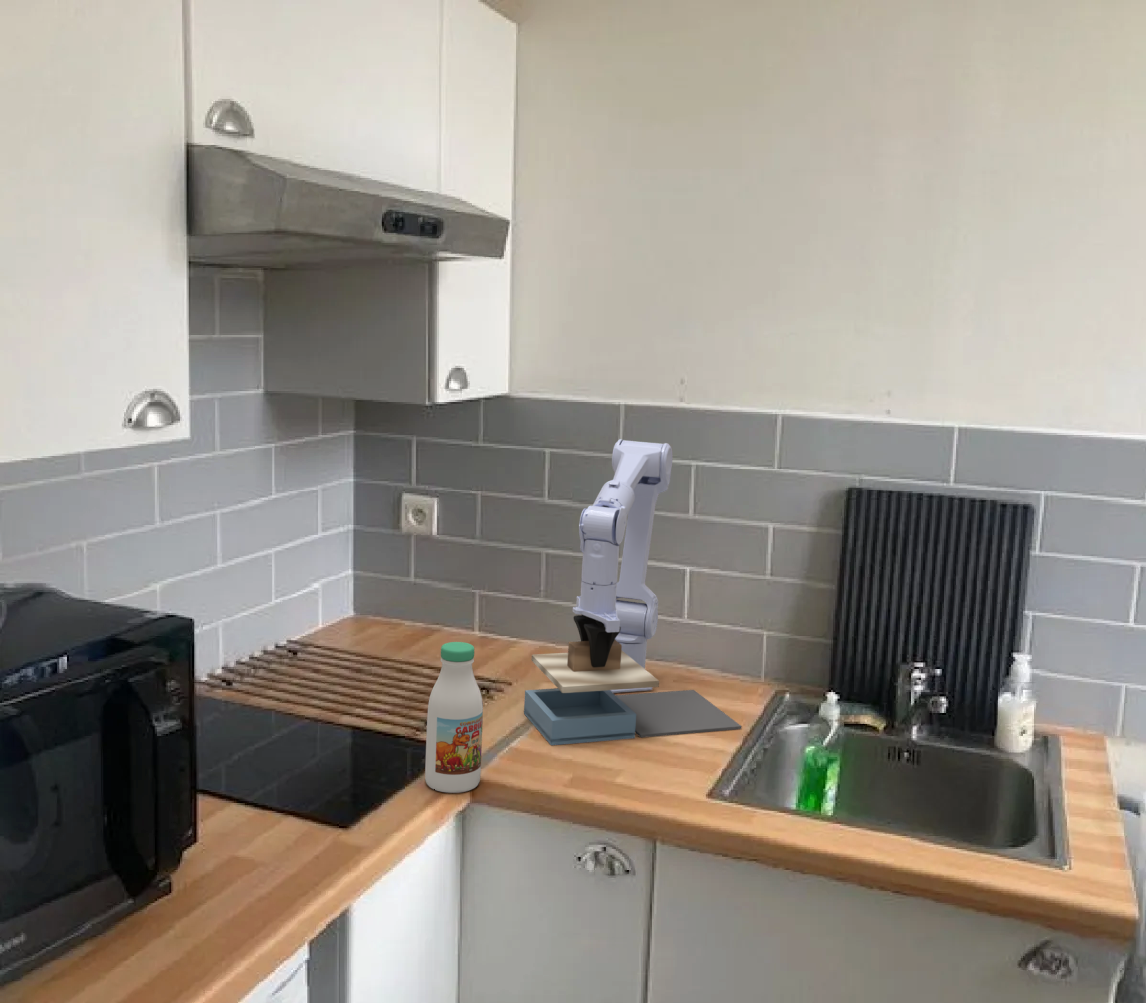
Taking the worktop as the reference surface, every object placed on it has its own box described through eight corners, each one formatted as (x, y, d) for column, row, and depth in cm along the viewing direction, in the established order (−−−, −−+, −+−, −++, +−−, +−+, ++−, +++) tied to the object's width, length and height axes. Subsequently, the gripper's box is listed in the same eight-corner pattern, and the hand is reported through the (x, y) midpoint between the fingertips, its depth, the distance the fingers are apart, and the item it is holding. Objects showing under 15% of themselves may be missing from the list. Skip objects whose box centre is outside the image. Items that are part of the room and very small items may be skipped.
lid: (531, 660, 187) (532, 631, 187) (620, 655, 193) (622, 627, 192) (562, 693, 173) (564, 661, 172) (658, 686, 178) (660, 656, 177)
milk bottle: (415, 787, 156) (419, 648, 153) (440, 767, 164) (445, 634, 160) (465, 798, 154) (471, 657, 151) (489, 778, 161) (495, 642, 158)
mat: (599, 699, 196) (599, 696, 196) (693, 692, 202) (693, 689, 202) (640, 737, 179) (640, 734, 179) (741, 729, 186) (741, 726, 185)
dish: (523, 713, 187) (525, 690, 186) (602, 707, 192) (604, 685, 191) (551, 745, 174) (552, 720, 174) (634, 738, 179) (636, 714, 178)
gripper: (560, 570, 185) (556, 650, 188) (591, 593, 172) (586, 679, 174) (600, 569, 188) (596, 648, 190) (634, 591, 174) (628, 676, 177)
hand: (594, 662), depth 182 cm, fingers closed on lid, 3 cm apart
